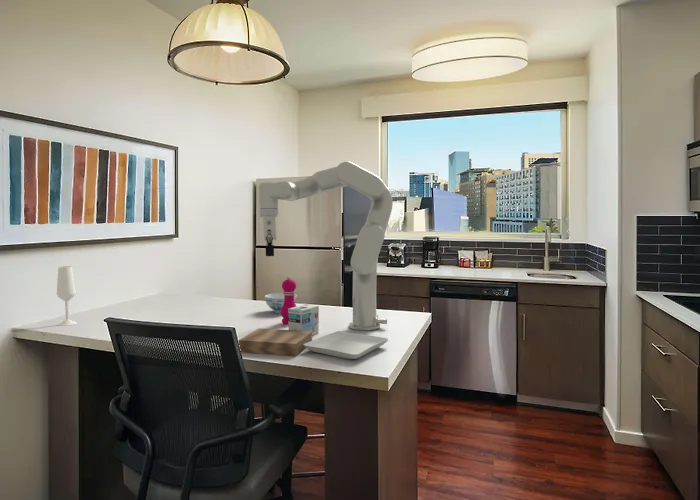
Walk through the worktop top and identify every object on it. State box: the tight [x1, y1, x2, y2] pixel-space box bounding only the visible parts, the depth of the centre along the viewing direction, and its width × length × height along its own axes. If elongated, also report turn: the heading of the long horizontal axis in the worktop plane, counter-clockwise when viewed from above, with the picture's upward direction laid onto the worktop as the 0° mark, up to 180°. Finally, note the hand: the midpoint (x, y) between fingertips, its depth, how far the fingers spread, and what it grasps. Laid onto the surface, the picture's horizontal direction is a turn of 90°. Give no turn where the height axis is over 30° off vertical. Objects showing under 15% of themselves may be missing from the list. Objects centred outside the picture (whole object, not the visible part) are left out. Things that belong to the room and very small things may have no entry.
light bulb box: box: [288, 303, 320, 337], centre depth 164 cm, size 11×7×11 cm, turn 148°
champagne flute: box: [56, 265, 78, 327], centre depth 182 cm, size 7×7×24 cm
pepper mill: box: [280, 275, 297, 326], centre depth 183 cm, size 7×7×20 cm
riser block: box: [238, 327, 313, 357], centre depth 149 cm, size 20×16×4 cm
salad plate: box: [303, 330, 389, 360], centre depth 146 cm, size 21×21×3 cm
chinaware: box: [264, 292, 298, 314], centre depth 206 cm, size 15×15×8 cm
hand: (270, 255), depth 179 cm, fingers open, 9 cm apart
